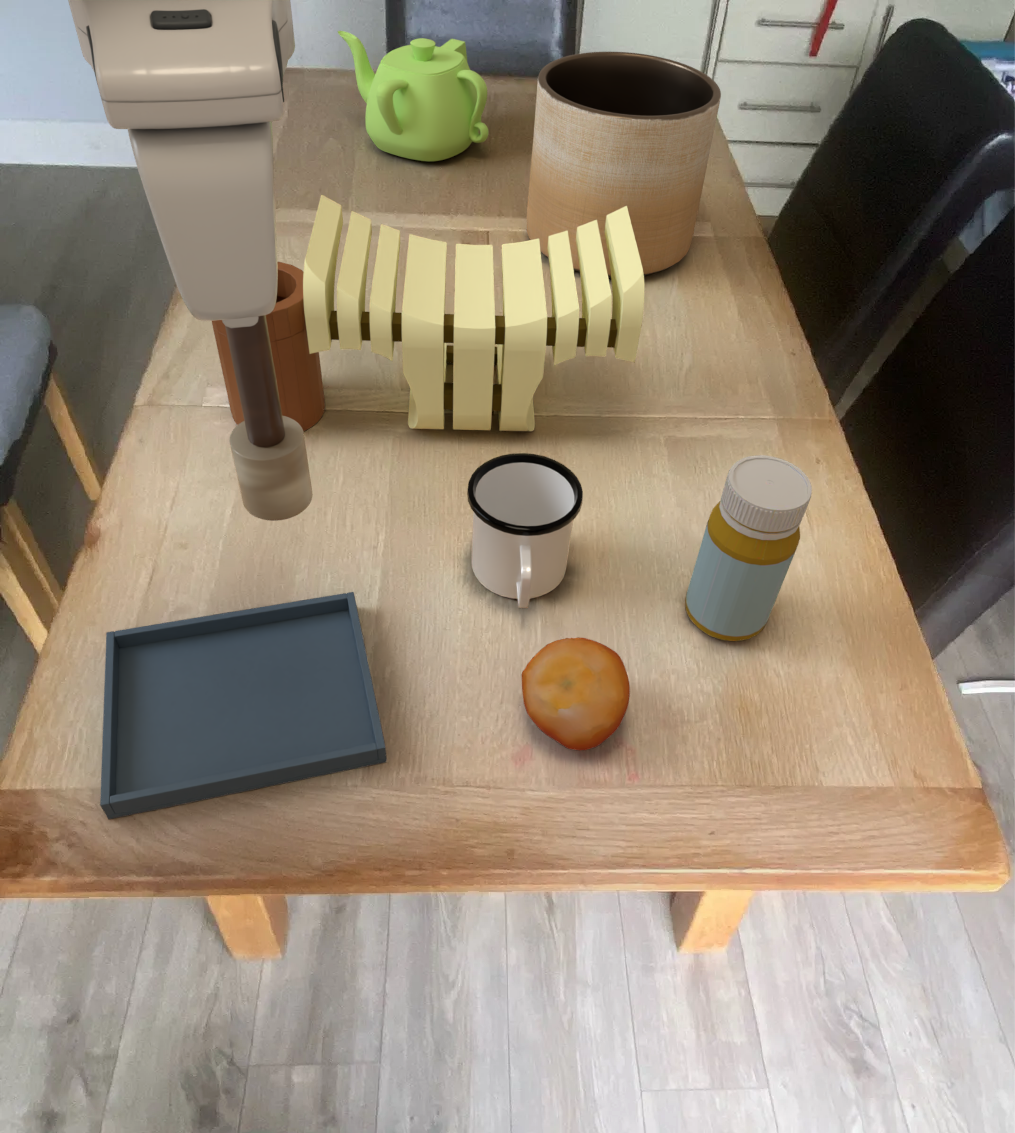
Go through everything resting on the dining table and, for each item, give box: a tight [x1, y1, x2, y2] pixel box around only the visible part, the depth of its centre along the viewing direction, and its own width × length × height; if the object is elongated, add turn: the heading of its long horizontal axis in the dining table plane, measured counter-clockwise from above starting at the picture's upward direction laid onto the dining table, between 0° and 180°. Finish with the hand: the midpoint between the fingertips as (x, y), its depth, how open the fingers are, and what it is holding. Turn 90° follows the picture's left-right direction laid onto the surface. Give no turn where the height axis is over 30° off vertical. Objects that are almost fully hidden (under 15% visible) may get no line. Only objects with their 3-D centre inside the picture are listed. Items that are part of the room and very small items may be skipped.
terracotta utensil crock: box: [211, 261, 326, 432], centre depth 88 cm, size 9×9×14 cm
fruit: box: [521, 636, 631, 751], centre depth 67 cm, size 8×8×8 cm
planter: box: [526, 51, 722, 278], centre depth 114 cm, size 22×22×20 cm
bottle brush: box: [225, 315, 314, 522], centre depth 51 cm, size 4×4×19 cm
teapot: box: [337, 30, 489, 162], centre depth 135 cm, size 19×20×14 cm
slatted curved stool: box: [303, 194, 645, 432], centre depth 90 cm, size 30×16×18 cm, turn 92°
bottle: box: [684, 454, 813, 642], centre depth 72 cm, size 7×7×15 cm
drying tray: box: [99, 591, 388, 820], centre depth 68 cm, size 19×15×2 cm
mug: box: [466, 452, 584, 609], centre depth 76 cm, size 12×10×9 cm
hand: (238, 302), depth 48 cm, fingers closed on bottle brush, 2 cm apart
